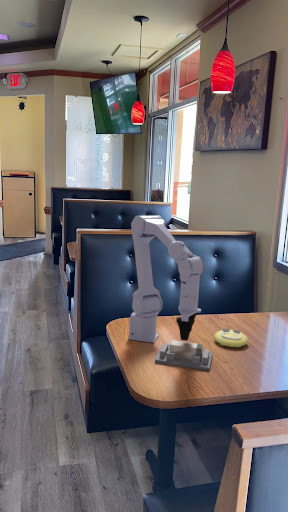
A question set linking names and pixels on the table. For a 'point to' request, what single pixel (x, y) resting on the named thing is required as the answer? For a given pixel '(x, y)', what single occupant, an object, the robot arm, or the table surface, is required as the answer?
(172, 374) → the table surface
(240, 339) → the emoji
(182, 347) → the light grey tapered block
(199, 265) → the robot arm
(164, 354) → the cradle
